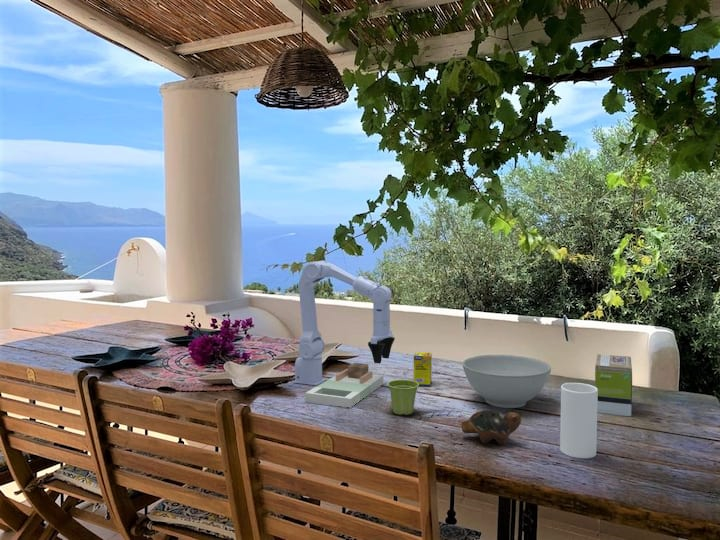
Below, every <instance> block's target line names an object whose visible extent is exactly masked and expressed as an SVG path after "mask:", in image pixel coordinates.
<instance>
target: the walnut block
mask: <svg viewBox="0 0 720 540" xmlns="http://www.w3.org/2000/svg"><path fill="white" fill-rule="evenodd" d="M347 369H348V378H356V379H360V377H362V376H363V375H365V374H366V373H368V372H369V363H361V362H360V363H359V362H353V363H351V364H349V365H348V366H347Z"/></svg>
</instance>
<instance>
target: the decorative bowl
mask: <svg viewBox="0 0 720 540" xmlns="http://www.w3.org/2000/svg"><path fill="white" fill-rule="evenodd" d="M462 367H463V371H464V374H465V376H466V379H467V381H468V382H469V385H470V386H471V387H472V388H473V390H474V391H475V392H476V393H477V394H478V395H480V396H481V397H482V398H484V400H485V402H486V404H488V405H491V406H493V407H498V408H504V409H515V408H516V409H518V408H522V407H525V406H526V405H527V402H528V401H530V400H532V399H533V398H535V397H536V396H537V395H538V394H540V392H541V391H542V390H543V389H544V387H545V385H547V382H548V380H549V377H550V375H551V371H552V367H551V365H550V364H548V363H547V362H545V361H543V360H540V359H536V358H532V357H527V356H521V355H513V354H484V355H482V354H481V355H477V356H471V357H469V358H468V357H467V358H466V359H464V360H463V362H462Z"/></svg>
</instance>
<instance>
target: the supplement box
mask: <svg viewBox="0 0 720 540" xmlns="http://www.w3.org/2000/svg"><path fill="white" fill-rule="evenodd" d="M432 354H433V353H432V352H424V351H423V352H422V351H421V352H420V351H415V353H414V354H413V381H415V382H417V383H419V386H418V387H427V388H429V387H431V384H432Z"/></svg>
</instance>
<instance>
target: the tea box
mask: <svg viewBox="0 0 720 540" xmlns="http://www.w3.org/2000/svg"><path fill="white" fill-rule="evenodd" d="M594 367H595V368H594V370H595V371H594V387H596V388H597V389H598V401H597V414H598V413H599V414H606V415H613V416H615V415H616V416H621V417H622V416H624V417H632V407H633V405H632V404H633V368H632V358H631V356H628V355H627V356H626V355H614V354H613V355H611V354H600V353H599V354H598V353H597V356H596V361H595V365H594Z"/></svg>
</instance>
